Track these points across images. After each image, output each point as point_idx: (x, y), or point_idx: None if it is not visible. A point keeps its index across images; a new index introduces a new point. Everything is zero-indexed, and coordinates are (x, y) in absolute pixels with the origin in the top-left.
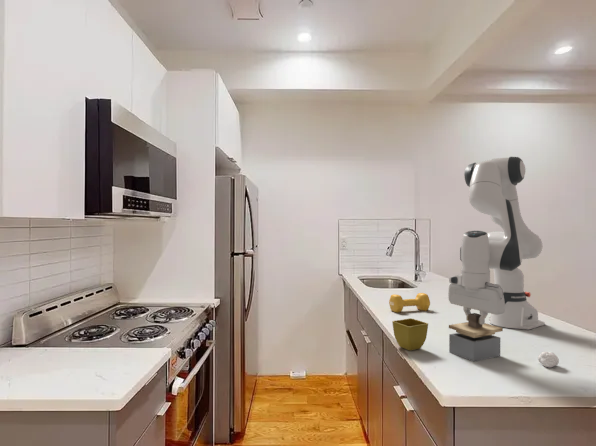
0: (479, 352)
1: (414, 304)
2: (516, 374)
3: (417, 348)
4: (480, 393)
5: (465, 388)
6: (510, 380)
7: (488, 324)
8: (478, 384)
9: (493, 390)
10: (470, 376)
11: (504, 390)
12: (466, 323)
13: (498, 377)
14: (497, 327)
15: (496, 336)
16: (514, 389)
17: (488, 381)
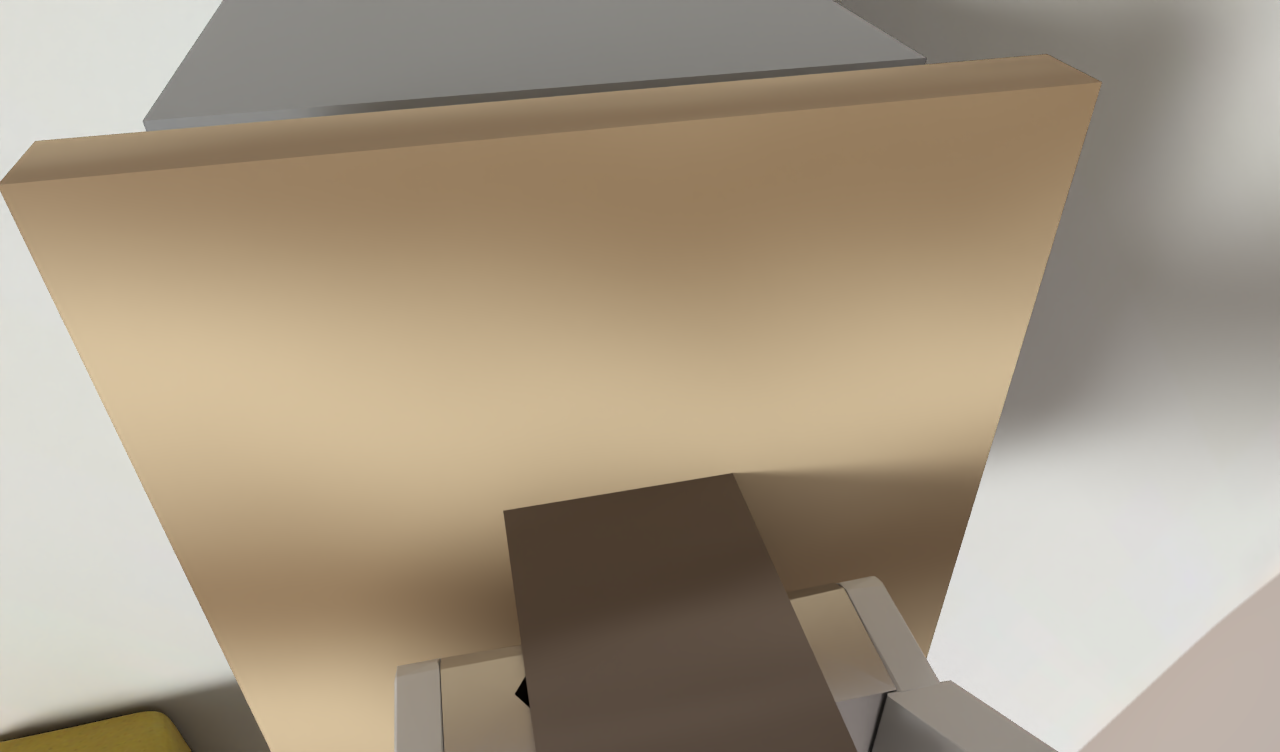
0: None
1: None
2: (1194, 307)
3: (189, 748)
4: (1127, 694)
5: (1037, 727)
6: (1196, 444)
7: (620, 160)
8: (1061, 652)
9: (1166, 625)
10: (954, 633)
11: (1217, 576)
12: (303, 601)
13: (1104, 484)
14: (977, 171)
15: (825, 70)
16: (1263, 518)
17: (1084, 581)
